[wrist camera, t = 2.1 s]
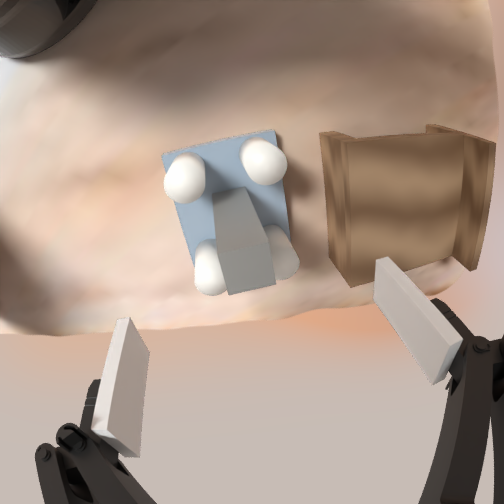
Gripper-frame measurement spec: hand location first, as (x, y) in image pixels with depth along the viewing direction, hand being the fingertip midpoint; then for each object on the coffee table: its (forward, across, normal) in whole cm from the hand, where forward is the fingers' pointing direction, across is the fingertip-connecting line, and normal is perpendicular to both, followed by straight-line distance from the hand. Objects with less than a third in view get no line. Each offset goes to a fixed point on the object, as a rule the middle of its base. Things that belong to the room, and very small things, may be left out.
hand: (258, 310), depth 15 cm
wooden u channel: (+16, +17, -2) cm, 23 cm away
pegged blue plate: (+16, 0, 0) cm, 16 cm away
